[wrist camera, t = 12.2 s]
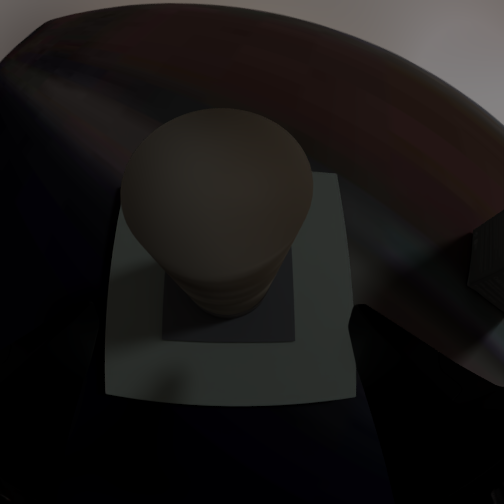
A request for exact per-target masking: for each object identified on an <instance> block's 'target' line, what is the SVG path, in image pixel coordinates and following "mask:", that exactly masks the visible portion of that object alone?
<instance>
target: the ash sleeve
mask: <svg viewBox="0 0 504 504" xmlns="http://www.w3.org/2000/svg"><path fill="white" fill-rule="evenodd" d="M120 194H121V206H122V212H123V215H124V218H125V221H126V224H127V225H128V227H129V229H130V231H131V233H132V234H133V235H134V237H135V238H136V239H137V241H138V242H139V243H140V244H141V245H142V246H143V248H144V249H145V250H146V251H147V252H148V253H149V254H150V255H151V256H152V258H153V259H154V260H155V261H156V262H157V263H158V264H159V265H160V266H161V267H162V268H163V269H164V271H165V272H166V273H167V274H168V275H169V276H170V277H171V278H172V279H173V280H174V281H175V282H176V283H177V284H178V285H179V286H180V287H181V288H182V289H183V291H184V292H185V293H186V294H187V295H188V296H189V297H190V299H191V300H192V301H193V302H194V303H195V304H196V305H197V306H198V307H199V308H200V309H201V310H203V311H204V312H206V313H207V314H209V315H211V316H214V317H217V318H222V319H234V318H239V317H242V316H245V315H247V314H249V313H251V312H252V311H253V310H255V309H256V308H257V307H258V306H259V305H260V304H261V302H262V301H263V299H264V298H265V296H266V294H267V292H268V291H269V288H270V286H271V283H272V281H273V279H274V278H275V276H276V274H277V272H278V270H279V268H280V266H281V265H282V263H283V261H284V259H285V257H286V255H287V253H288V251H289V249H290V247H291V246H292V244H293V242H294V240H295V238H296V236H297V234H298V232H299V230H300V228H301V226H302V224H303V222H304V220H305V219H306V216H307V214H308V211H309V209H310V206H311V201H312V196H313V177H312V171H311V167H310V164H309V161H308V159H307V157H306V154H305V153H304V151H303V149H302V148H301V146H300V145H299V144H298V142H297V141H296V140H295V139H294V138H293V137H292V136H291V135H290V134H289V133H288V132H287V131H286V130H285V129H283V128H282V127H281V126H279V125H278V124H276V123H275V122H273V121H271V120H269V119H267V118H265V117H263V116H260V115H258V114H255V113H251V112H248V111H243V110H238V109H229V108H214V109H205V110H199V111H195V112H191V113H188V114H184V115H182V116H179V117H177V118H174V119H173V120H171V121H169V122H167V123H165V124H163V125H162V126H160V127H159V128H157V129H156V130H155V131H153V132H152V133H151V134H150V135H149V136H148V137H147V138H146V139H145V140H144V141H143V142H142V143H141V144H140V145H139V146H138V148H137V149H136V150H135V152H134V153H133V155H132V156H131V158H130V160H129V162H128V164H127V166H126V169H125V171H124V175H123V178H122V183H121V192H120Z"/></svg>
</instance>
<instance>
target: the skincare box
mask: <svg viewBox="0 0 504 504" xmlns="http://www.w3.org/2000/svg"><path fill="white" fill-rule="evenodd" d="M467 286H468V287H470V288H472V289H474V290H475V291H477V292H478V293H479V294H480V295H482V296H483V297H484V298H485V299H487V300H488V301H489V302H491V303H492V304H493V305H495V306H496V307H497V308H499V309H500V310H501V311H503V312H504V210H503V211H501V212H500V213H498V214H497V215H495V216H494V217H492V218H491V219H489V220H488V221H486V222H485V223H484V224H482V225H481V226H479V227H478V228H476V229H474V230H473V238H472V254H471V263H470V270H469V277H468V281H467Z"/></svg>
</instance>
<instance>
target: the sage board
mask: <svg viewBox="0 0 504 504" xmlns="http://www.w3.org/2000/svg"><path fill="white" fill-rule="evenodd" d="M312 177H313V196H312V201H311V206H310V209H309V211H308V214H307V216H306V219H305V220H304V222H303V224H302V226H301V228H300V230H299V232H298V234H297V236H296V238H295V240H294V242H293V244H292V246H291V247H290V249H289V251H288V253H287V255H286V257H285V259H284V261H283V263H282V265H281V266H280V268H279V270H278V272H277V274H276V276H275V278H274V279H273V281H272V283H271V286H270V288H269V291H268V292H267V294H266V296H265V298H264V299H263V301H262V302H261V304H260V305H259V306H258V307H257V308H256V309H255V310H253V311H252V312H251V313H249V314H247V315H245V316H242V317H239V318H234V319H222V318H217V317H214V316H211V315H209V314H207V313H206V312H204V311H203V310H201V309H200V308H199V307H198V306H197V305H196V304H195V303H194V302H193V301H192V300H191V299H190V297H189V296H188V295H187V294H186V293H185V292H184V291H183V289H182V288H181V287H180V286H179V285H178V284H177V283H176V282H175V281H174V280H173V279H172V278H171V277H170V276H169V275H168V274H167V273H166V272H165V271H164V269H163V268H162V267H161V266H160V265H159V264H158V263H157V262H156V261H155V260H154V259H153V258H152V256H151V255H150V254H149V253H148V252H147V251H146V250H145V249H144V248H143V246H142V245H141V244H140V243H139V242H138V241H137V239H136V238H135V237H134V235H133V234H132V233H131V231H130V229H129V227H128V225H127V224H126V221H125V218H124V215H123V212H122V206H120V212H119V217H118V222H117V228H116V234H115V240H114V247H113V254H112V261H111V269H110V278H109V288H108V299H107V313H106V332H105V392H106V394H110V395H115V396H121V397H127V398H134V399H141V400H148V401H156V402H166V403H176V404H189V405H208V406H270V405H288V404H302V403H312V402H322V401H330V400H338V399H345V398H351V397H356V363H355V358H354V353H353V349H352V344H351V340H350V335H349V331H348V323H349V319H350V316H351V312H352V309H353V293H352V282H351V271H350V261H349V253H348V244H347V236H346V229H345V222H344V215H343V208H342V202H341V196H340V190H339V184H338V179H337V174H333V173H321V172H312Z"/></svg>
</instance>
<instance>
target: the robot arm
mask: <svg viewBox="0 0 504 504" xmlns="http://www.w3.org/2000/svg"><path fill="white" fill-rule="evenodd" d="M98 329H99V318H98V315H97V312H96V309H95V306H94V304H93V303H92V302H90V301H81V302H79V303H78V304H76V305H74V306H73V307H71V308H69V309H67V310H66V311H64V312H62V313H61V314H59V315H57V316H56V317H54V318H52V319H51V320H49V321H47V322H46V323H44V324H42V325H41V326H39V327H37V328H36V329H34V330H33V331H31V332H29V333H28V334H26V335H24V336H23V337H21V338H20V339H18V340H16V341H15V342H13V343H12V344H10V345H8V346H7V347H5V348H4V349H2V350H1V351H0V504H27V502H28V498H29V497H31V498H33V499H35V500H36V501H38V502H40V503H42V504H56V497H57V490H58V484H59V478H60V472H61V467H62V462H63V460H62V459H63V456H64V452H65V447H66V443H67V439H68V434H69V430H70V427H71V423H72V419H73V415H74V412H75V408H76V405H77V401H78V398H79V395H80V391H81V388H82V385H83V382H84V379H85V376H86V373H87V370H88V367H89V364H90V360H91V357H92V353H93V349H94V344H95V340H96V337H97V333H98ZM348 331H349V335H350V340H351V344H352V349H353V353H354V358H355V363H356V367H357V370H358V373H359V376H360V379H361V382H362V385H363V388H364V391H365V395H366V398H367V401H368V404H369V407H370V411H371V414H372V417H373V421H374V424H375V427H376V431H377V434H378V438H379V441H380V445H381V449H382V452H383V456H384V460H385V464H386V467H387V472H388V476H389V480H390V484H391V488H392V493H393V497H394V501H395V504H504V387H500V386H497V385H495V384H493V383H491V382H489V381H487V380H485V379H484V378H482V377H480V376H478V375H476V374H475V373H473V372H471V371H469V370H467V369H466V368H464V367H462V366H460V365H459V364H457V363H455V362H454V361H452V360H451V359H449V358H447V357H446V356H444V355H443V354H441V353H440V352H438V351H437V350H435V349H434V348H432V347H431V346H429V345H428V344H426V343H425V342H423V341H422V340H420V339H419V338H417V337H415V336H414V335H412V334H411V333H409V332H408V331H406V330H405V329H403V328H402V327H400V326H399V325H397V324H395V323H394V322H392V321H391V320H389V319H388V318H386V317H385V316H383V315H381V314H380V313H378V312H377V311H375V310H374V309H372V308H371V307H369V306H367V305H366V304H358V305H354V307H353V309H352V312H351V316H350V319H349V323H348Z"/></svg>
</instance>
